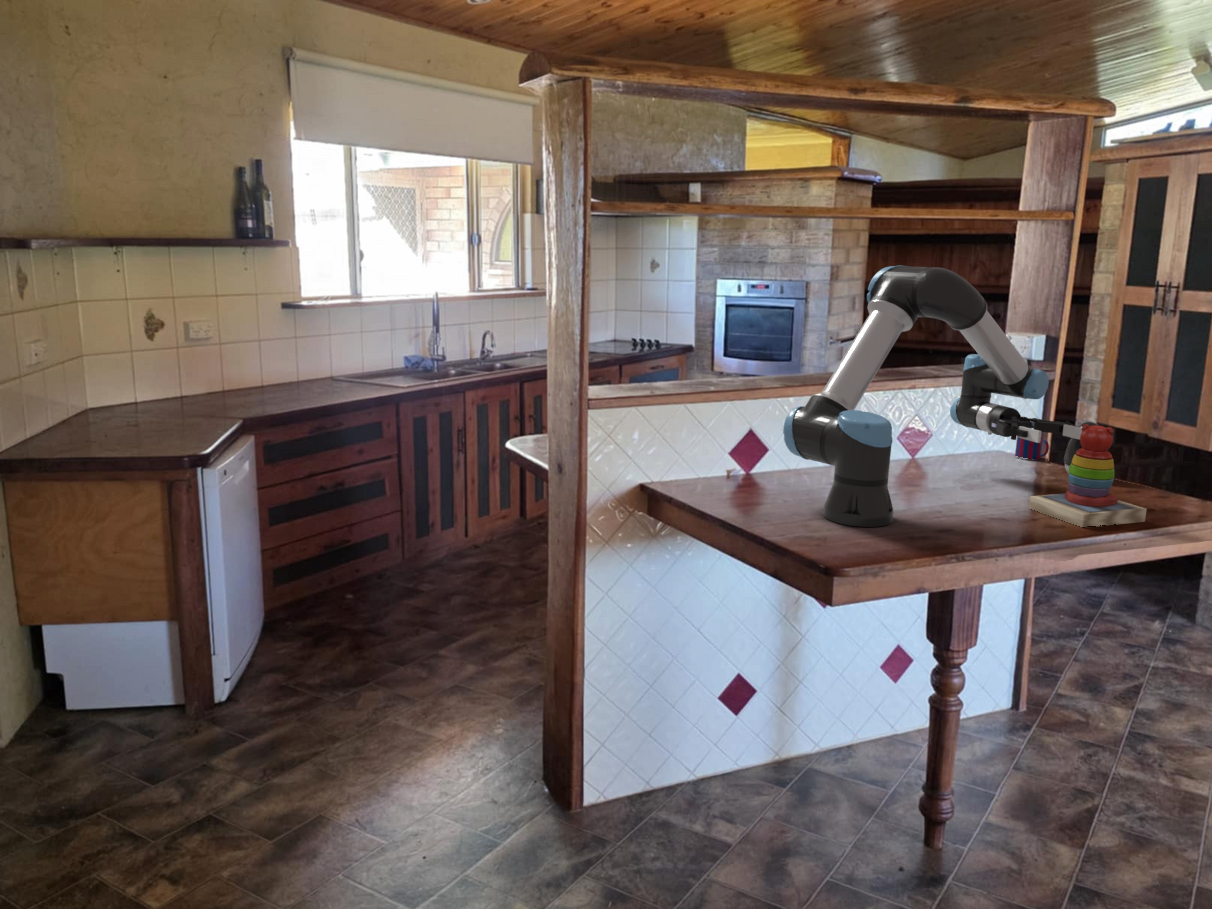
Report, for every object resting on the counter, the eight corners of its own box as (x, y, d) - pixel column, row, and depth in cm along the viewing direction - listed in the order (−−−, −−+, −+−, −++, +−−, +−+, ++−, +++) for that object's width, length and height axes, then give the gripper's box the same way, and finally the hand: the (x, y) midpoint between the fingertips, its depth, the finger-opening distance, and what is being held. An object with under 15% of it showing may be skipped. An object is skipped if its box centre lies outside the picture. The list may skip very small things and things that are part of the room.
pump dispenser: (1053, 472, 262) (1060, 418, 258) (1089, 472, 263) (1096, 418, 260) (1075, 482, 252) (1082, 425, 249) (1112, 481, 253) (1120, 425, 250)
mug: (1028, 454, 284) (1030, 432, 283) (1053, 462, 275) (1056, 439, 274) (1009, 456, 282) (1012, 433, 281) (1034, 463, 273) (1037, 440, 272)
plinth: (1082, 527, 210) (1083, 513, 209) (1028, 508, 225) (1030, 495, 224) (1144, 521, 216) (1146, 508, 215) (1088, 503, 231) (1090, 490, 230)
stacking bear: (1120, 502, 220) (1130, 425, 216) (1106, 510, 213) (1117, 431, 209) (1070, 493, 227) (1079, 419, 223) (1055, 501, 220) (1065, 424, 216)
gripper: (1036, 432, 250) (1101, 449, 231) (957, 436, 242) (1018, 453, 223) (1040, 404, 249) (1105, 418, 229) (960, 407, 241) (1022, 422, 221)
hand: (1062, 436), depth 226 cm, fingers open, 13 cm apart
